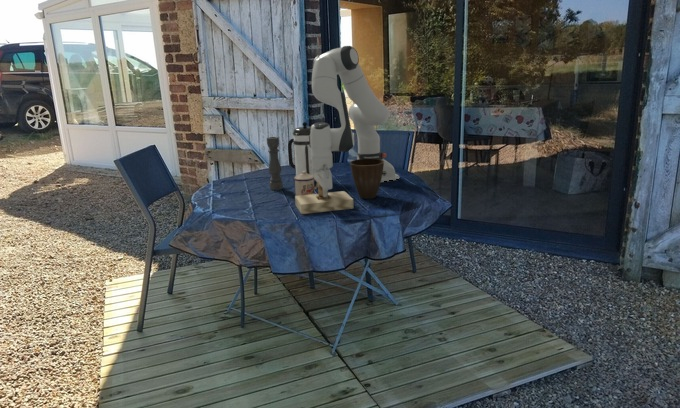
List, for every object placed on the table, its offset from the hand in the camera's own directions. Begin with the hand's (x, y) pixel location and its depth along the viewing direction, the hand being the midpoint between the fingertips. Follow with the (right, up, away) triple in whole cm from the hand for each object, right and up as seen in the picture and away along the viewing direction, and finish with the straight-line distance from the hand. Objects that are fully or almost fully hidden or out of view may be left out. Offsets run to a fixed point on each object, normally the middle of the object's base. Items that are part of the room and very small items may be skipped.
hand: (323, 195), depth 205 cm
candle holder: (-24, +4, +34) cm, 42 cm away
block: (0, -5, +1) cm, 5 cm away
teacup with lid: (-8, 0, +19) cm, 21 cm away
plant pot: (+19, -1, +14) cm, 24 cm away
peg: (0, -4, +1) cm, 4 cm away
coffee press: (-11, +9, +50) cm, 52 cm away
